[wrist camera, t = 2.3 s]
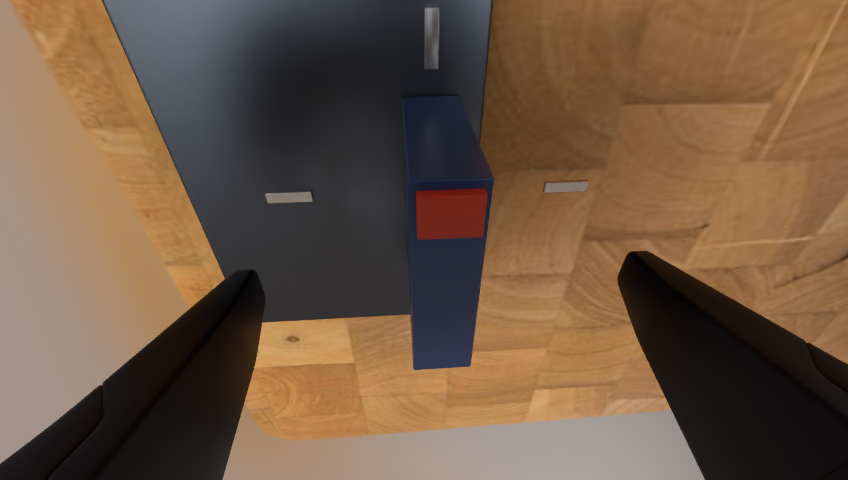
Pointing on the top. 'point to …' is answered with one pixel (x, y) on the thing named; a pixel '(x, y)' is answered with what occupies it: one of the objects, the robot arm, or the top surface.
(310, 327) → the top surface
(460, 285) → the tap handle
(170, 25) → the tap plate
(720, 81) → the top surface
